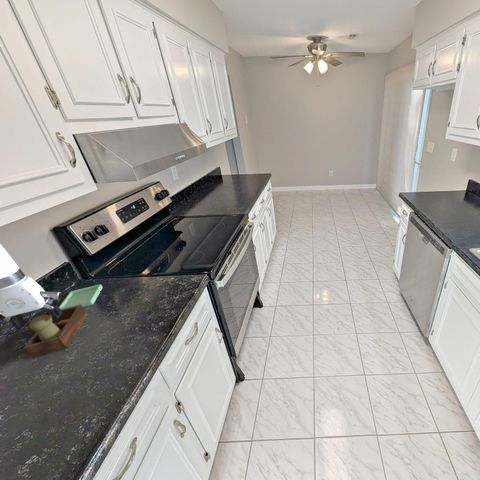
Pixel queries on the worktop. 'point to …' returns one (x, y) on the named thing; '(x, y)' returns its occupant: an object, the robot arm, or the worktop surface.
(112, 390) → the worktop surface
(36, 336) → the caddy
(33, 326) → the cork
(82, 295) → the tray
